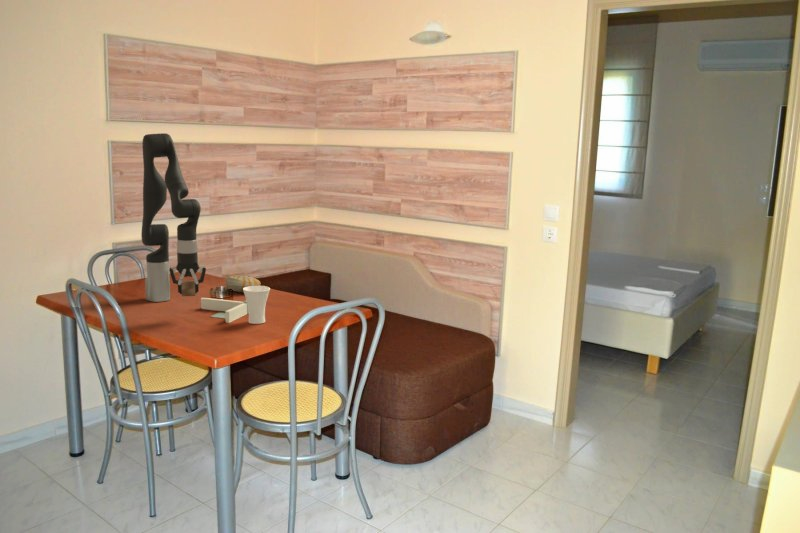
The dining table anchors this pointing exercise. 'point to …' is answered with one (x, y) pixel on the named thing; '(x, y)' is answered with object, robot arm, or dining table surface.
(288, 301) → the dining table surface
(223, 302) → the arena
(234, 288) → the nautilus
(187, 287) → the block
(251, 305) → the cup
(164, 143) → the robot arm
